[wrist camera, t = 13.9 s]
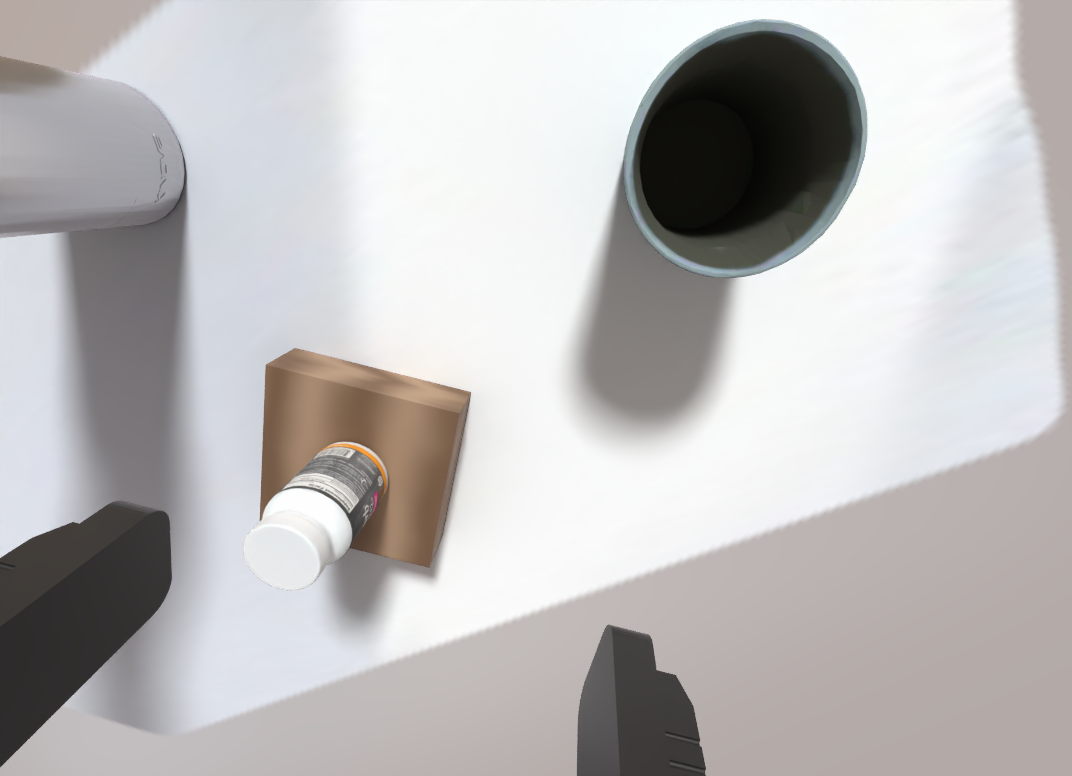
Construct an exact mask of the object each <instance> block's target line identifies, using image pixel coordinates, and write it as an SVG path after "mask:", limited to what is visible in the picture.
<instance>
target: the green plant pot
mask: <svg viewBox="0 0 1072 776" xmlns="http://www.w3.org/2000/svg"><path fill="white" fill-rule="evenodd" d="M866 142H867V110H866V105H865V99H864V96H863V93H862V90H861V87H860V84H859V81H858V78H857V76H856V75H855V73H854V71H853V69H852V67H851V66H850V64H849V63H848V61H847V60H846V59H845V57H844V56H843V55H842V54H841V53H840V51H839V50H838V49H837V48H836V47H835V46H834V45H832V44H831V43H830V42H829V41H828V40H827V39H825V38H824V37H822V36H821V35H819V34H817V33H815V32H813V31H811V30H809V29H807V28H805V27H803V26H800V25H798V24H794V23H790V22H785V21H781V20H766V19H761V20H750V21H744V22H738V23H735V24H732V25H729V26H726V27H723V28H720V29H717V30H715V31H713V32H711V33H709V34H707V35H705V36H703V37H702V38H700V39H698V40H696V41H695V42H693V43H692V44H691V45H689V46H688V47H686V48H685V49H684V50H683V51H682V52H680V53H679V54H678V55H677V56H676V57H675V58H674V59H672V60H671V61H670V62H669V63H668V64H667V65H666V67H665V68H664V69H663V70H662V72H661V73H660V74H659V75H658V76H657V78H656V79H655V80H654V81H653V82H652V84H651V86H650V87H649V89H648V90H647V92H646V94H645V95H644V97H643V99H642V101H641V103H640V105H639V108H638V110H637V113H636V115H635V117H634V120H633V122H632V125H631V127H630V131H629V134H628V138H627V142H626V147H625V155H624V166H623V167H624V185H625V193H626V197H627V201H628V205H629V209H630V211H631V214H632V216H633V219H634V221H635V223H636V225H637V227H638V228H639V230H640V232H641V233H642V235H643V236H644V237H645V239H646V240H647V241H648V243H649V244H650V245H651V246H652V247H653V248H654V249H655V250H656V251H657V252H658V253H659V254H660V255H662V256H663V257H664V258H666V259H667V260H668V261H670V262H671V263H673V264H675V265H676V266H678V267H680V268H683V269H685V270H687V271H690V272H692V273H695V274H699V275H703V276H707V277H716V278H736V277H745V276H750V275H755V274H759V273H762V272H764V271H767V270H770V269H772V268H775V267H777V266H779V265H781V264H783V263H785V262H787V261H789V260H790V259H792V258H794V257H796V256H797V255H799V254H800V253H802V252H803V251H805V250H806V249H807V248H808V247H809V246H810V245H811V244H813V243H814V242H815V241H816V240H817V239H818V238H819V237H820V236H822V235H823V234H824V233H825V231H826V230H827V229H828V228H829V226H830V225H831V224H832V223H833V222H834V220H835V219H836V218H837V216H838V214H839V213H840V211H841V209H842V208H843V206H844V204H845V202H846V201H847V199H848V197H849V195H850V194H851V192H852V190H853V189H854V187H855V185H856V182H857V179H858V176H859V173H860V170H861V167H862V163H863V160H864V157H865V150H866Z"/></svg>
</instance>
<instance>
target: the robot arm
mask: <svg viewBox="0 0 1072 776" xmlns="http://www.w3.org/2000/svg"><path fill="white" fill-rule="evenodd" d="M184 172H185V171H184V163H183V156H182V152H181V149H180V146H179V142H178V140H177V138H176V136H175V133H174V131H173V129H172V127H171V125H170V124H169V123H168V121H167V120H166V118H165V117H164V115H163V114H162V113H161V111H160V110H159V109H158V108H157V107H156V106H155V105H154V104H153V103H152V102H151V101H150V100H149V99H148V98H146V97H145V96H144V95H142V94H141V93H140V92H138V91H137V90H135V89H133V88H131V87H129V86H127V85H125V84H123V83H120V82H115V81H111V80H107V79H102V78H98V77H93V76H89V75H84V74H80V73H75V72H71V71H65V70H62V69H58V68H53V67H49V66H44V65H39V64H35V63H30V62H25V61H20V60H16V59H11V58H7V57H2V56H0V238H5V237H16V236H26V235H37V234H48V233H59V232H70V231H80V230H91V229H104V228H114V227H125V226H135V225H144V224H149V223H154V222H156V221H158V220H160V219H162V218H164V217H165V216H166V215H167V214H168V213H169V212H170V211H172V210H173V208H174V207H175V205H176V203H177V202H178V200H179V198H180V195H181V192H182V189H183V185H184ZM171 579H172V571H171V546H170V522H169V517H168V515H167V514H166V513H165V512H163V511H160V510H156V509H152V508H148V507H144V506H140V505H136V504H132V503H128V502H124V501H116V502H113V503H110V504H109V505H107V506H105V507H104V508H102V509H101V510H99V511H98V512H96V513H95V514H93V515H92V516H90V517H89V518H87V519H86V520H84V521H83V522H81V523H80V524H78V523H74V522H72V523H69V524H67V525H64V526H62V527H59V528H56V529H54V530H51V531H49V532H46V533H44V534H41V535H38V536H36V537H33V538H31V539H29V540H28V541H26V542H25V543H23V544H22V545H20V546H18V547H17V548H15V549H14V550H12V551H11V552H9V553H7V554H6V555H4V556H3V557H1V558H0V767H1V766H2V765H3V764H4V763H5V762H6V761H7V760H8V759H9V758H10V757H11V756H12V755H13V754H14V753H15V752H16V751H17V750H18V749H19V748H20V747H21V746H22V745H23V744H24V743H25V742H26V741H27V740H28V739H29V738H30V737H31V736H32V735H33V734H34V733H35V732H36V731H37V730H38V729H39V728H40V727H41V726H42V725H43V724H44V723H45V722H46V721H47V720H48V719H49V718H50V717H51V716H52V715H53V714H54V713H55V712H56V711H57V710H58V709H59V708H60V707H61V706H62V705H63V704H64V703H65V702H66V701H67V700H68V699H69V698H70V697H71V696H72V695H73V694H74V693H75V692H76V691H77V690H78V689H79V688H80V687H81V686H82V685H83V684H84V683H85V682H86V681H87V680H88V679H89V678H90V677H91V676H92V675H93V674H94V673H95V672H96V671H97V670H98V669H99V668H100V667H101V666H102V665H103V664H104V663H105V662H106V661H107V660H108V659H109V658H110V657H111V656H112V655H113V654H114V653H115V652H116V651H117V650H118V649H119V648H120V647H121V646H122V645H123V644H124V643H125V642H126V641H127V640H128V639H129V638H130V637H131V636H132V635H133V634H134V633H136V632H137V631H138V630H139V629H140V628H141V627H142V626H143V625H144V624H145V623H146V622H147V621H148V620H149V619H150V618H151V617H152V616H153V614H154V613H155V612H156V611H157V610H158V608H159V607H160V606H161V604H162V603H163V601H164V599H165V597H166V595H167V593H168V591H169V588H170V584H171ZM699 742H700V738H699V732H698V728H697V722H696V718H695V712H694V708H693V705H692V703H691V701H690V700H689V698H688V696H687V694H686V692H685V691H684V689H683V687H682V685H681V684H680V682H679V680H678V678H677V677H676V675H673V674H669V673H665V672H661V671H657V670H656V663H655V656H654V650H653V643H652V639H651V637H650V636H649V635H648V634H644V633H640V632H636V631H632V630H628V629H623V628H620V627H615V626H612V625H607V626H606V628H605V630H604V632H603V635H602V637H601V640H600V643H599V645H598V648H597V651H596V653H595V656H594V659H593V661H592V664H591V667H590V669H589V672H588V675H587V677H586V680H585V683H584V686H583V690H582V694H581V699H580V706H579V715H578V745H577V776H706V775H705V770H706V767H705V762H704V757H703V753H702V747H700V745H699Z"/></svg>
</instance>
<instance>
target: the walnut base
mask: <svg viewBox="0 0 1072 776" xmlns="http://www.w3.org/2000/svg"><path fill="white" fill-rule="evenodd" d="M470 395H471V392H468V391H464V390H460V389H456V388H452V387H448V386H444V385H440V384H436V383H432V382H428V381H424V380H420V379H416V378H412V377H408V376H404V375H400V374H396V373H392V372H388V371H384V370H380V369H376V368H372V367H368V366H364V365H360V364H356V363H352V362H348V361H344V360H340V359H336V358H332V357H328V356H324V355H320V354H316V353H312V352H308V351H304V350H300V349H296V348H295V349H293V350H291V351H289V352H288V353H286V354H284V355H282V356H281V357H279V358H277V359H275V360H274V361H272V362H270V363H268V364H266V373H265V399H264V425H263V451H262V477H261V503H260V521H261V520H262V516H263V513H264V510H265V508H266V506H267V504H268V503H269V501H270V500H271V499H272V498H273V497H274V496H275V495H276V494H277V493H278V492H279V491H280V490H281V489H282V488H283V487H284V486H285V485H286V484H287V483H288V482H289V481H290V480H291V479H292V478H293V477H294V476H295V475H296V474H297V473H298V472H300V471H301V470H302V469H303V468H304V467H305V466H306V465H307V464H308V463H309V462H310V461H311V460H312V459H313V458H314V457H315V456H316V455H317V454H318V453H319V452H320V451H321V450H323V449H324V448H326V447H327V446H329V445H331V444H334V443H338V442H353V443H357V444H360V445H362V446H365V447H367V448H369V449H370V450H372V451H373V452H374V453H375V454H376V455H377V456H378V457H379V458H380V460H381V461H382V462H383V464H384V466H385V468H386V470H387V475H388V486H387V490H386V492H385V494H384V496H383V498H382V499H381V501H380V502H379V504H378V506H377V507H376V509H375V510H374V512H373V513H372V515H371V516H370V518H369V519H368V520H367V522H366V523H365V525H364V526H363V528H362V529H361V531H360V532H359V534H358V535H357V537H356V538H355V540H354V542H353V543H352V545H351V546H350V548H353V549H357V550H361V551H365V552H369V553H373V554H377V555H381V556H385V557H389V558H393V559H397V560H401V561H405V562H409V563H413V564H417V565H421V566H425V567H430V565H431V562H432V560H433V558H434V555H435V553H436V550H437V548H438V545H439V543H440V540H441V538H442V535H443V530H444V525H445V520H446V515H447V510H448V505H449V500H450V495H451V490H452V485H453V480H454V475H455V470H456V465H457V460H458V455H459V450H460V445H461V440H462V435H463V430H464V425H465V420H466V415H467V410H468V405H469V400H470Z"/></svg>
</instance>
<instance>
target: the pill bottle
mask: <svg viewBox="0 0 1072 776" xmlns="http://www.w3.org/2000/svg"><path fill="white" fill-rule="evenodd" d="M387 486H388V475H387V470H386V468H385V466H384V464H383V462H382V461H381V460H380V458H379V457H378V456H377V455H376V454H375V453H374V452H373V451H372V450H370V449H369V448H367V447H365V446H362V445H360V444H357V443H353V442H338V443H334V444H331V445H329V446H327V447H326V448H324V449H323V450H321V451H320V452H319V453H318V454H317V455H316V456H315V457H314V458H313V459H312V460H311V461H310V462H309V463H308V464H307V465H306V466H305V467H304V468H303V469H302V470H301V471H300V472H298V473H297V474H296V475H295V476H294V477H293V478H292V479H291V480H290V481H289V482H288V483H287V484H286V485H285V486H284V487H283V488H282V489H281V490H280V491H279V492H278V493H277V494H276V495H275V496H274V497H273V498H272V499H271V500H270V501H269V503H268V504H267V506H266V508H265V510H264V513H263V516H262V520H261V521H260V522H259V523H258V524H257V525H256V526H255V527H254V528H253V529H252V530H251V531H250V533H249V534H248V535H247V537H246V539H245V541H244V546H243V553H244V558H245V561H246V563H247V565H248V567H249V568H250V569H251V571H252V572H253V573H254V574H255V575H256V576H257V577H258V578H259V579H260V580H262V581H263V582H265V583H267V584H268V585H270V586H273V587H275V588H279V589H283V590H300V589H303V588H305V587H308V586H309V585H311V584H312V583H313V582H314V581H315V580H316V579H317V578H318V577H319V575H320V574H321V573H322V571H323V570H324V568H325V567H326V565H329V564H331V563H333V562H335V561H337V560H338V559H339V558H341V557H342V556H343V555H344V554H345V553H346V552H347V550H348V549H349V548H350V546H351V545H352V543H353V542H354V540H355V538H356V537H357V535H358V534H359V532H360V531H361V529H362V528H363V526H364V525H365V523H366V522H367V520H368V519H369V518H370V516H371V515H372V513H373V512H374V510H375V509H376V507H377V506H378V504H379V502H380V501H381V499H382V498H383V496H384V494H385V492H386V490H387Z"/></svg>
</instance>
